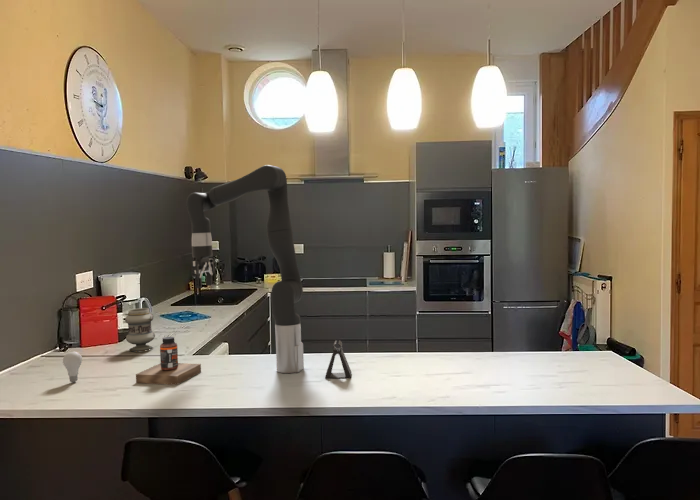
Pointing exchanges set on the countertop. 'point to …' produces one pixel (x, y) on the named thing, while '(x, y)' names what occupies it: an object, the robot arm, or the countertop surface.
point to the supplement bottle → (168, 354)
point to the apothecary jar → (139, 329)
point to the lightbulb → (72, 365)
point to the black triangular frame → (344, 363)
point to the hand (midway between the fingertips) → (204, 286)
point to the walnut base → (168, 374)
